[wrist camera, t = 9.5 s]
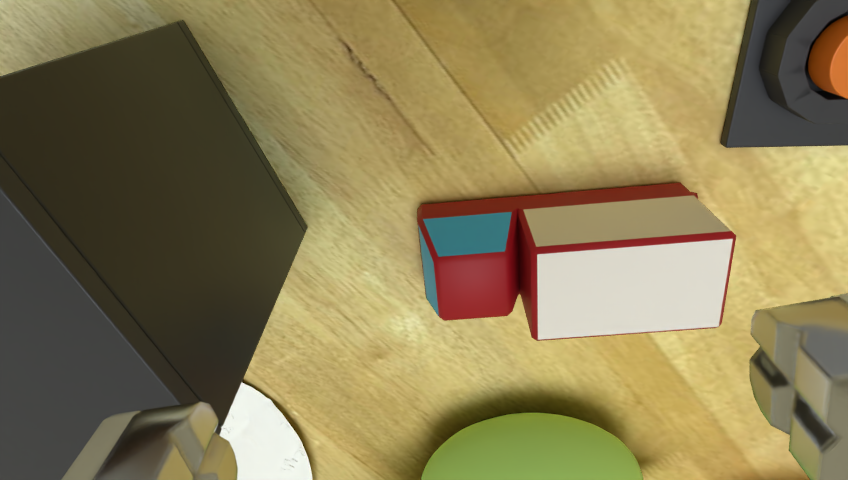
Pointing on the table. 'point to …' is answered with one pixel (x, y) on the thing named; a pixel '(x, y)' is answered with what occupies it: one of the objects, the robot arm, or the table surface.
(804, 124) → the box
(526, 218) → the toy truck
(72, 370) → the storage box lid
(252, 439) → the plaque
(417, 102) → the table surface
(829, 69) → the button
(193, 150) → the lidded storage box
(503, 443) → the teapot
